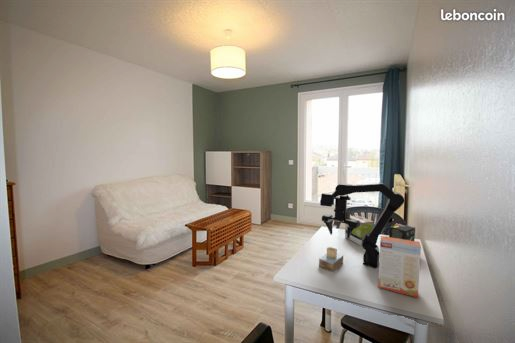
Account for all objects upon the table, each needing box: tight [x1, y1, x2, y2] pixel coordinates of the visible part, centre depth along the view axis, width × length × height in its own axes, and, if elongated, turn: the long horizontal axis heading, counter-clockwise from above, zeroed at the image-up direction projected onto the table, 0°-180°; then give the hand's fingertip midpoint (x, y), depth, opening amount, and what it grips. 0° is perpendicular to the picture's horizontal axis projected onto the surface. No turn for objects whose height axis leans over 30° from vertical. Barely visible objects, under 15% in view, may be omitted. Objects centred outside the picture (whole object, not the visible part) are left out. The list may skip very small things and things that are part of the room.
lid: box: [318, 253, 344, 264], centre depth 119 cm, size 7×12×1 cm, turn 137°
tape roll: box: [326, 246, 338, 259], centre depth 118 cm, size 5×5×4 cm
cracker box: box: [378, 235, 422, 298], centre depth 97 cm, size 14×6×21 cm, turn 59°
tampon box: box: [388, 223, 416, 241], centre depth 136 cm, size 11×9×15 cm
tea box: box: [344, 214, 375, 246], centre depth 152 cm, size 15×10×15 cm
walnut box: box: [318, 256, 344, 272], centre depth 119 cm, size 7×12×4 cm, turn 137°
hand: (339, 236), depth 126 cm, fingers open, 9 cm apart
